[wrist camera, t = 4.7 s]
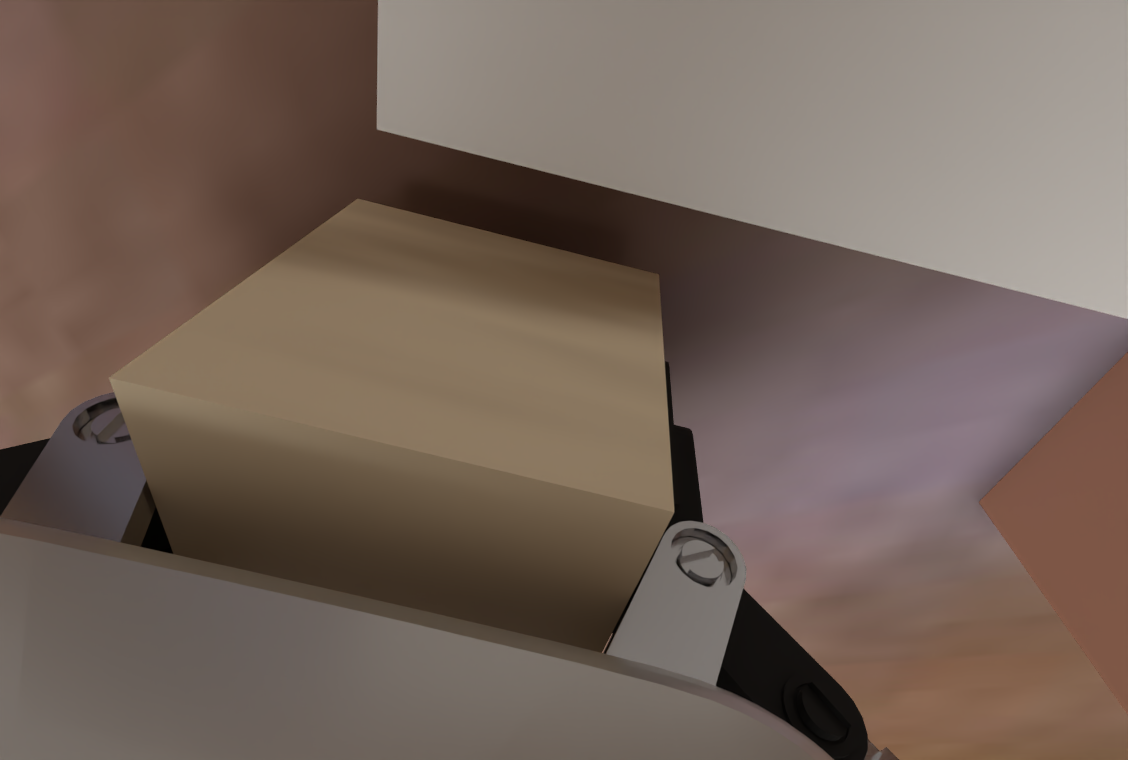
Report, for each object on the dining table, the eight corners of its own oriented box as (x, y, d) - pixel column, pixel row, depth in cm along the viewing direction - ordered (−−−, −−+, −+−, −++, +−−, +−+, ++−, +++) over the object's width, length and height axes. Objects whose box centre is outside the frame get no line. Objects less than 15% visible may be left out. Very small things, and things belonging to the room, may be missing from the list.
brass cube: (357, 198, 10) (108, 378, 6) (659, 274, 11) (674, 512, 6) (361, 426, 14) (211, 657, 9) (586, 479, 14) (559, 734, 9)
